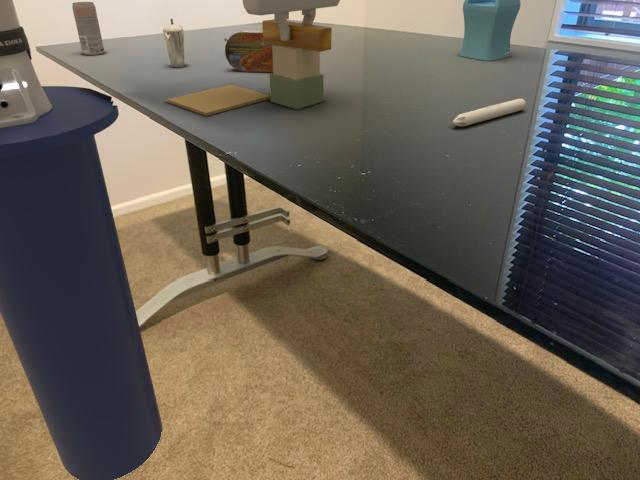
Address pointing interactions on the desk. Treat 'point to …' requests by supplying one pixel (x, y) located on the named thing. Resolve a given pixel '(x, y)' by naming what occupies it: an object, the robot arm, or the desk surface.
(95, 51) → the energy drink
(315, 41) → the bar
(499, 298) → the desk surface
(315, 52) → the tower
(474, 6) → the vase
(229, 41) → the tin
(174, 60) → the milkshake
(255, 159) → the desk surface
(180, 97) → the mat
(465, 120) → the marker
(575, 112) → the desk surface
